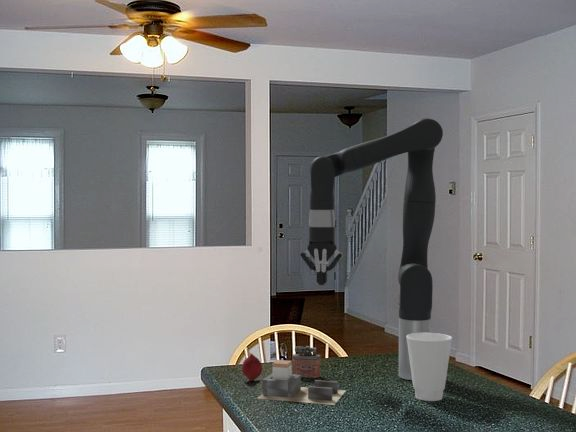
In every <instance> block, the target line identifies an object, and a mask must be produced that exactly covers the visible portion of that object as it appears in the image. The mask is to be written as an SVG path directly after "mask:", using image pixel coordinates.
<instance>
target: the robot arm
mask: <svg viewBox="0 0 576 432" xmlns="http://www.w3.org/2000/svg"><path fill="white" fill-rule="evenodd" d="M443 135H444V131H443V127H442V125H441V124H440V123H439V122H438V121H437V120H435V119H432V118H428V117H427V118H426V117H425V118H421V119H418V120H417V121H414V123H412V124H411V125H409V126H407V127H406V128H404V129H401V130H400V131H397V132H394V133H390V134H389V135H386V136H383V137H379V138H375V139H372V140H367V141H364V142H361V143H359V144H355V145H352V146H349V147H346V148H343V149H342V150H340V151H337V152H335V153H331V154H329V155H324V156H323V155H322V156H321V155H320V156H318V157H316V158H314V159H313V160H312V162H311V163H310V166H309V173H310V187H311V188H310V189H311V190H310V195H309V196H310V197H309V216H308V245H307V249H306V250H304V251H303V252H301V253H300V257H301V258H302V260H303V261H304V262H305V264H306V266H307V267H308V268H309V269H310V270H311V271H314V272H315V273H316V283H317V284H318V286H325V285H326V284H327V283H328V272H330V271H332V270H334V269H335V267H336V266H337V264H339V262H340V261H341V259H342V258H343V257H344V253H343V252H341V251H339V250H338V249H337V245H336V218H335V217H336V216H335V215H336V214H335V195H334V189H335V178H337V177H340V176H341V175H344V174H347V173H351V172H356V171H359V170H362V169H364V168H368V167H371V166H374V165H376V164H378V163H381V162H383V161H385V160H388V159H390V158H393V157H396V156H399V155H402V154H405V153H407V172H406V176H405V177H406V178H405V185H404V194H403V196H404V197H403V206H402V207H403V208H402V241H403V242H402V253H401V259H400V265H399V268H398V269H399V270H398V274H397V280H398V281H397V282H398V284H399V308H398V377H399V378H401V379H402V380H403V379H404V380H406V381H407V380H409V381H412V374H411V367H410V359H409V352H408V344H407V338H406V336H407V335H408V334H412V333H432V326H431V325H432V310H433V289H434V288H433V287H434V286H433V276H432V273H431V271H430V270H429V268H428V266H429V265H428V248H429V242H430V238H431V234H432V233H433V232H432V231H433V227H434V223H435V218H436V217H435V216H436V203H437V201H436V198H437V197H436V186H435V180H434V174H433V164H434V157H435V156H434V155H435V149H436V148H437V146H438V145H440V143H441V141H442V140H443ZM310 257H312V259H314V262H313V261H312V259H311V258H310ZM332 257H334V259H333V260H332V261H331V263H330V264H329V262H330V261H329V260H330V259H331V258H332Z"/></svg>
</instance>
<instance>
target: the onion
mask: <svg viewBox="0 0 576 432" xmlns="http://www.w3.org/2000/svg"><path fill="white" fill-rule="evenodd" d="M262 365H263V364H262V362H261V361H260V359H259V358H257V356H255V355H254V353H253V352H250V353H249V355H248V357H247V358H245V359H244V360H243V362H242V365H241V372H242V374H243V376H245V377H246V378H247V379H248V380H249V381H250V382H253V381H254V380H256V379H257V378H259V377H260V376H261V375H262V372H263V366H262Z"/></svg>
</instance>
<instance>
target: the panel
mask: <svg viewBox="0 0 576 432" xmlns="http://www.w3.org/2000/svg"><path fill="white" fill-rule="evenodd" d="M272 376H273V372H271V373H270V374H269V375H267V376H265V378H263V379H262V394H261V395H259V396H258V397H256V400H257V399H259V400H269V401H270V400H271V401H279V402H280V401H282V402H293V403H304V404H305V403H307V404H308V403H309V404H319V405H330V406H335V405H336V404H337V403H338V402H339V400H340V398H342V396H343V395H344V394H345V393H346V391H347V389H346V390H344V389H339V381H334V380H321V379H315V380H314V386H313V385H308V386H307V387H305V386H302V383H301V382H302V381H301V380H302V379H301V378H302V377H301V375H295V374H293V373H292V379H291V380H289V381H288V380H274V379H272Z"/></svg>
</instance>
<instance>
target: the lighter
mask: <svg viewBox="0 0 576 432" xmlns="http://www.w3.org/2000/svg"><path fill="white" fill-rule="evenodd" d="M294 352H298V353H295V354H292V357H291V358H292V374H295V375H301V378H306V379H307V378H310V379H311V378H313V379H314V378H315V379H316V378H321V357H322V356H321V354H317V347H311V346H309V345H306V346H305V347H304V346H295V347H294Z"/></svg>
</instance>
